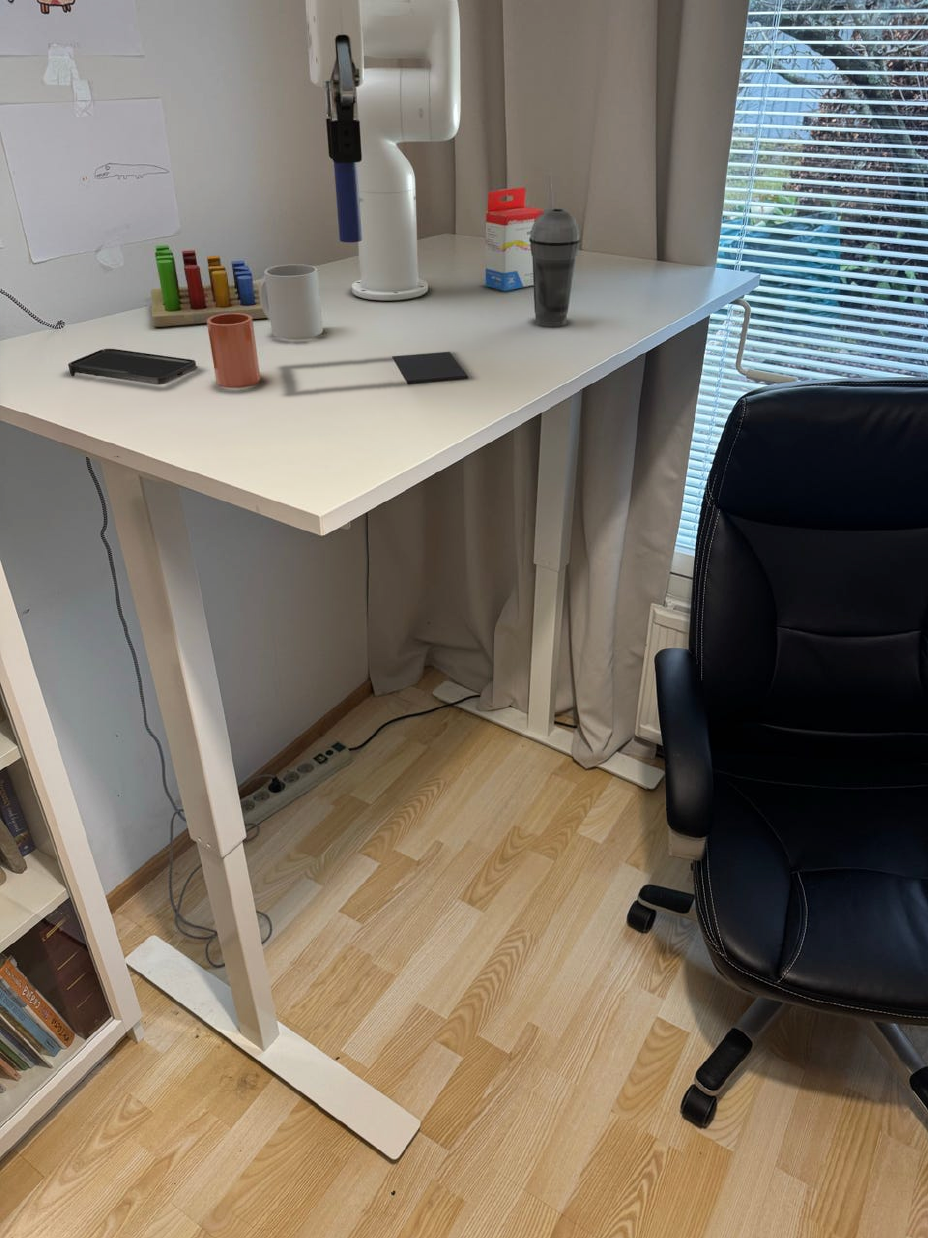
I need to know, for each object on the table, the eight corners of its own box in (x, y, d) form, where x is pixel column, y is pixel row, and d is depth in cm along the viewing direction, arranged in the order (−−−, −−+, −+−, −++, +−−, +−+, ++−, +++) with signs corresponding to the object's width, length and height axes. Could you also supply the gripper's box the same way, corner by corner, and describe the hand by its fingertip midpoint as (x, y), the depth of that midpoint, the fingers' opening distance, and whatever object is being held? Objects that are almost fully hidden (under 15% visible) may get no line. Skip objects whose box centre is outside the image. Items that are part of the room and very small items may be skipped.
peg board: (273, 318, 135) (266, 258, 130) (154, 328, 131) (142, 267, 126) (260, 290, 149) (253, 235, 144) (152, 299, 145) (141, 243, 140)
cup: (299, 346, 123) (292, 278, 118) (247, 334, 128) (238, 269, 123) (333, 333, 128) (328, 268, 123) (282, 322, 133) (275, 259, 128)
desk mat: (284, 367, 116) (284, 364, 115) (449, 354, 120) (449, 351, 120) (291, 393, 108) (291, 390, 107) (467, 378, 112) (467, 375, 112)
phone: (105, 347, 119) (199, 360, 114) (107, 356, 120) (200, 368, 115) (63, 365, 113) (160, 379, 108) (65, 374, 114) (161, 388, 109)
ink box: (503, 292, 147) (505, 194, 139) (484, 286, 151) (485, 191, 142) (541, 284, 152) (545, 189, 144) (522, 278, 155) (524, 185, 147)
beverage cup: (572, 330, 129) (582, 177, 118) (522, 328, 130) (527, 176, 119) (577, 317, 135) (587, 170, 124) (529, 314, 136) (535, 169, 125)
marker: (338, 238, 105) (328, 106, 98) (360, 237, 106) (351, 105, 98) (341, 243, 103) (330, 108, 96) (363, 241, 104) (355, 107, 96)
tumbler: (217, 379, 112) (206, 314, 108) (259, 375, 113) (251, 311, 109) (217, 393, 108) (206, 326, 103) (262, 389, 109) (253, 323, 104)
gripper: (287, -41, 95) (305, 152, 106) (300, -50, 82) (319, 171, 93) (357, -40, 97) (367, 150, 107) (380, -50, 84) (390, 168, 94)
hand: (345, 158), depth 100 cm, fingers closed on marker, 2 cm apart
